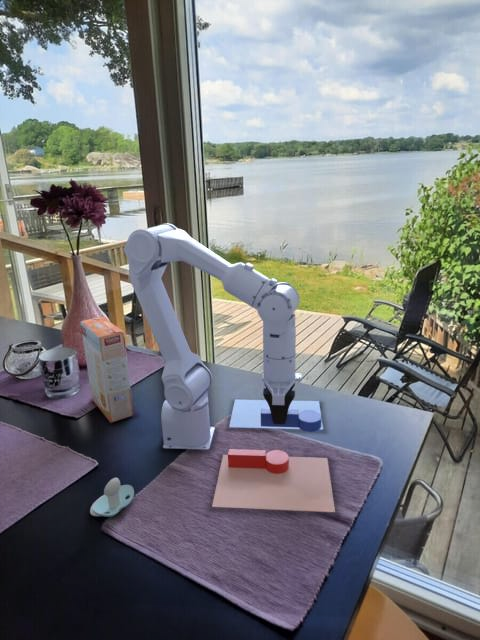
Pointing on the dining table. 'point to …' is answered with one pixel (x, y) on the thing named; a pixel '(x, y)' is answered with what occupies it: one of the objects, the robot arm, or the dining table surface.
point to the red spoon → (259, 460)
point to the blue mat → (250, 412)
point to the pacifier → (112, 499)
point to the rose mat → (276, 487)
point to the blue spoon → (294, 419)
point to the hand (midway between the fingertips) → (279, 419)
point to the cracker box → (107, 368)
